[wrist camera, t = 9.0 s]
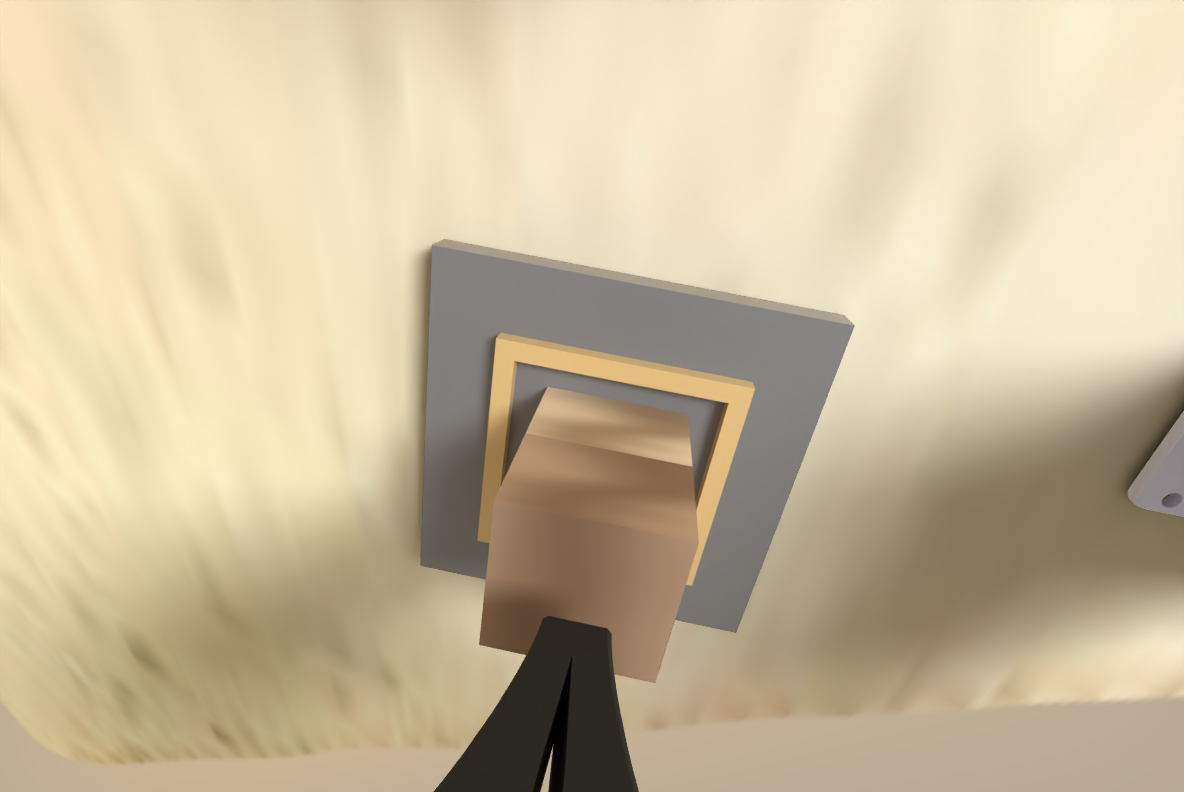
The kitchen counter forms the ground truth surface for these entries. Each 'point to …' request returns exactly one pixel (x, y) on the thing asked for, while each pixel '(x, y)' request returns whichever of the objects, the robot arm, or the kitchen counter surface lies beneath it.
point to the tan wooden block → (594, 528)
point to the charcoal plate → (620, 398)
